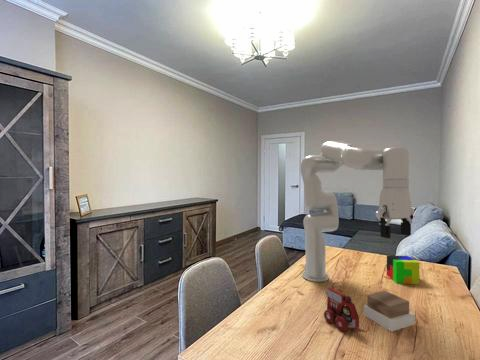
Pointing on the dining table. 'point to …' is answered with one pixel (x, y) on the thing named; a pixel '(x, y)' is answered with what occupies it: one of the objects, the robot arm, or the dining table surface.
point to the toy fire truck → (341, 310)
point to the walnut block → (388, 304)
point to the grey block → (390, 323)
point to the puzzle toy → (403, 269)
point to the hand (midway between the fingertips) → (395, 236)
